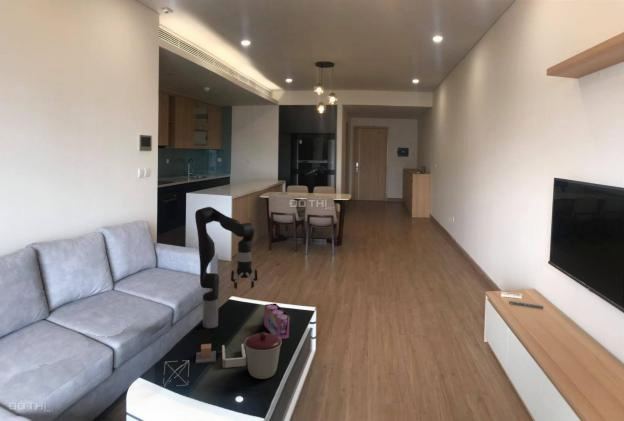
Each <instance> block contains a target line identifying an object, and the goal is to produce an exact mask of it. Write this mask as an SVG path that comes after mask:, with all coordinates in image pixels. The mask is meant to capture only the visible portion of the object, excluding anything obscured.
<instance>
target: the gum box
mask: <svg viewBox="0 0 624 421" xmlns="http://www.w3.org/2000/svg"><path fill="white" fill-rule="evenodd" d="M263 312H264V313H263V314H264V317H263V318H264V320H263V322H264V323H263V325H264V327H265V328H266V329H267V331H269V333H270V334H273V335H276V336H278V337H279V338H280V339H281V340H284V339H289V338H290V315H289V314H288V313H287V312H286V311H285V310H284V309H282V308H281V307H280V306H279V305H278V304H277V303H275V302H274V303H268V304H264V311H263Z"/></svg>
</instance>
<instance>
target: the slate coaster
mask: <svg viewBox="0 0 624 421" xmlns="http://www.w3.org/2000/svg"><path fill="white" fill-rule="evenodd" d="M216 362H217V351H215V350H213V351H212V350H211V357H208V358H201V351H200V352H199V351H198V352H196V356H195V364H204V363H205V364H206V363H216Z"/></svg>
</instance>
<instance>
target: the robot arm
mask: <svg viewBox="0 0 624 421" xmlns="http://www.w3.org/2000/svg"><path fill="white" fill-rule="evenodd" d="M194 219H195V226H196V230H197V239H198V240H197V242H198V255H199V268H200V269H199V285H200V287H201V288H203V289H210V291H207V292H205V293H203V294H202V327H203V328H204V329H213V328H214V329H215V328H217V327H218V326H219V290H220V289H219V287H220V285H219V284H220V276H219V274H218V273H215V272H214V273H213V272H212V273H211V272H207V270H208V266H209V264H210V263H211V262H212V260H213V259H214V257H215V255H216V251H215V250H216V248H215V242H214V240H213V238H211V236H210V234H209V233H208V230H207V224H211V223H213V222H217V223H219V225H220V226H221V228H223V229H225V230H227V231H229V232H231V233H233V234H234V235H235V236H237V237H240V238H242V239H241V240H239V241H238V243H237V259H236V260H237V267H236V268H237V269H231V272H230V281H231V282H233V288H235V290H237V289H238V281H239V279H247V278H248V279H249V280H251V281H250V288H251V289H254V287H255V282H256V281H258V270H257V269H256V268H255V269H252V242H253V239H254V235H255V227H254V224H252V223H251V222H246V223H241V222H240V221H239V220H237V219H236V218H232V217H230V216H227V215H225V214H224V213H222V212H220V211H219V210H217V209H216V208H214V207H211V206H206V207H203V208H200V209H197V210H196V211H195V213H194ZM252 273H253V274H254V277H253V276H252ZM236 274H237V275H236ZM235 275H236V277H235ZM234 277H235V278H234ZM211 289H212V290H211Z"/></svg>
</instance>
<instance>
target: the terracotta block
mask: <svg viewBox="0 0 624 421" xmlns="http://www.w3.org/2000/svg"><path fill="white" fill-rule="evenodd" d="M211 351H212V343H204V344H203V343H202V344H201V345H200V352H201V358H208V357H211Z"/></svg>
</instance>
